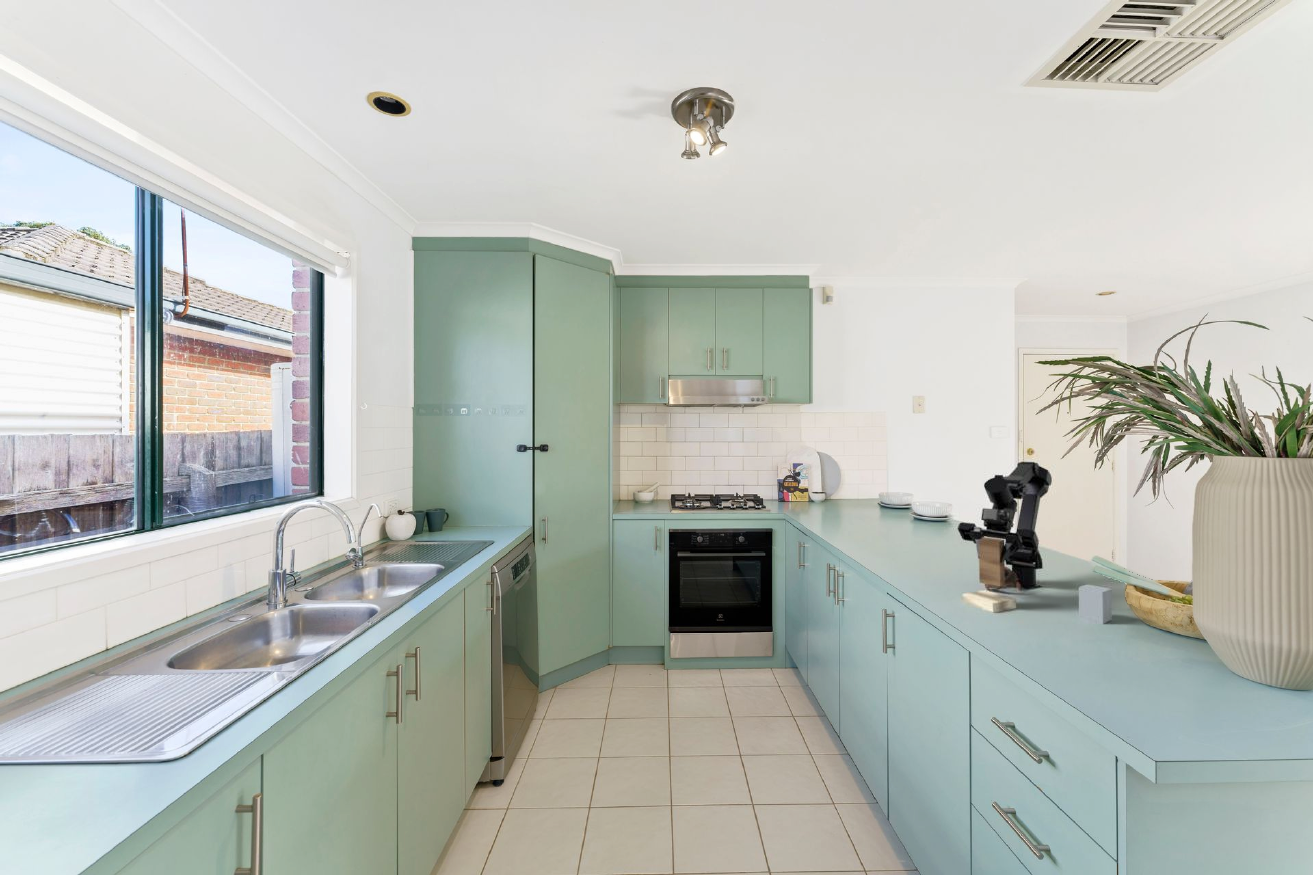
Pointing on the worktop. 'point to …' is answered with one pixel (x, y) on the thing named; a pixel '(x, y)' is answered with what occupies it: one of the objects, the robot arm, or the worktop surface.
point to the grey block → (1095, 603)
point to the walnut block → (991, 561)
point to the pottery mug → (1007, 580)
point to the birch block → (989, 601)
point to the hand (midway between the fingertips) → (989, 560)
